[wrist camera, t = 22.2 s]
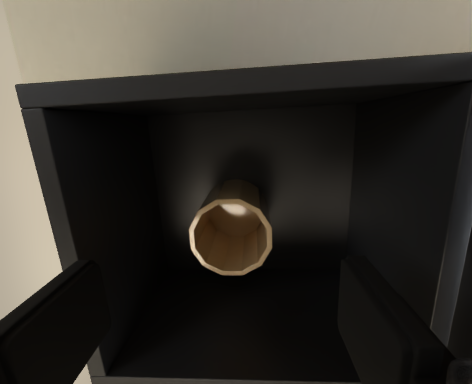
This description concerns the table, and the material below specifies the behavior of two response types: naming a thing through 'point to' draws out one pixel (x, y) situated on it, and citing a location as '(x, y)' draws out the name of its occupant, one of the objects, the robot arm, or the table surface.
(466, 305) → the lid
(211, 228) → the wooden cup
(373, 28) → the table surface
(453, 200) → the open storage box
